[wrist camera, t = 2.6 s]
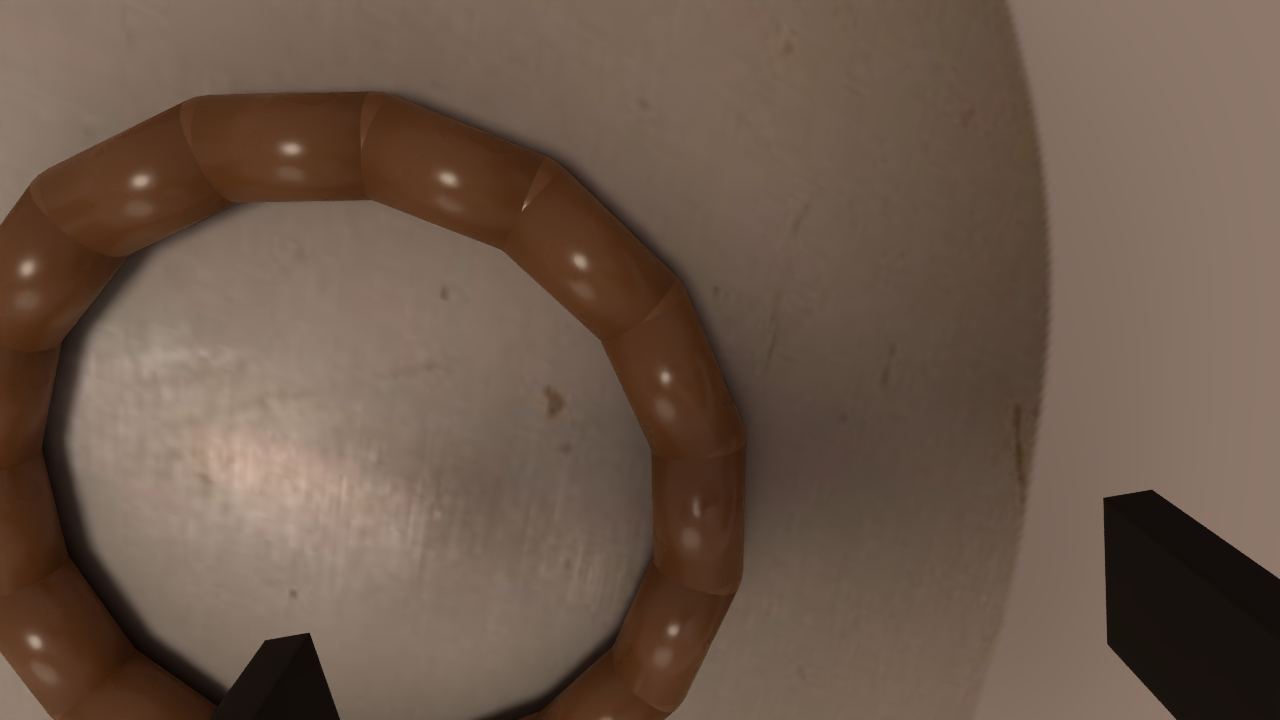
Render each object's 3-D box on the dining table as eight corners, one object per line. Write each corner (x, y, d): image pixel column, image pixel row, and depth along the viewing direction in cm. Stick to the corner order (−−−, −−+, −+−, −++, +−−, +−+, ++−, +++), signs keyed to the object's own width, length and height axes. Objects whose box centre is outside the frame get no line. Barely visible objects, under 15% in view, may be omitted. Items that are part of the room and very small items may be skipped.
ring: (49, -47, 18) (-35, -71, 16) (866, 280, 21) (895, 300, 18) (-70, 670, 24) (-146, 728, 22) (584, 869, 26) (579, 941, 24)
